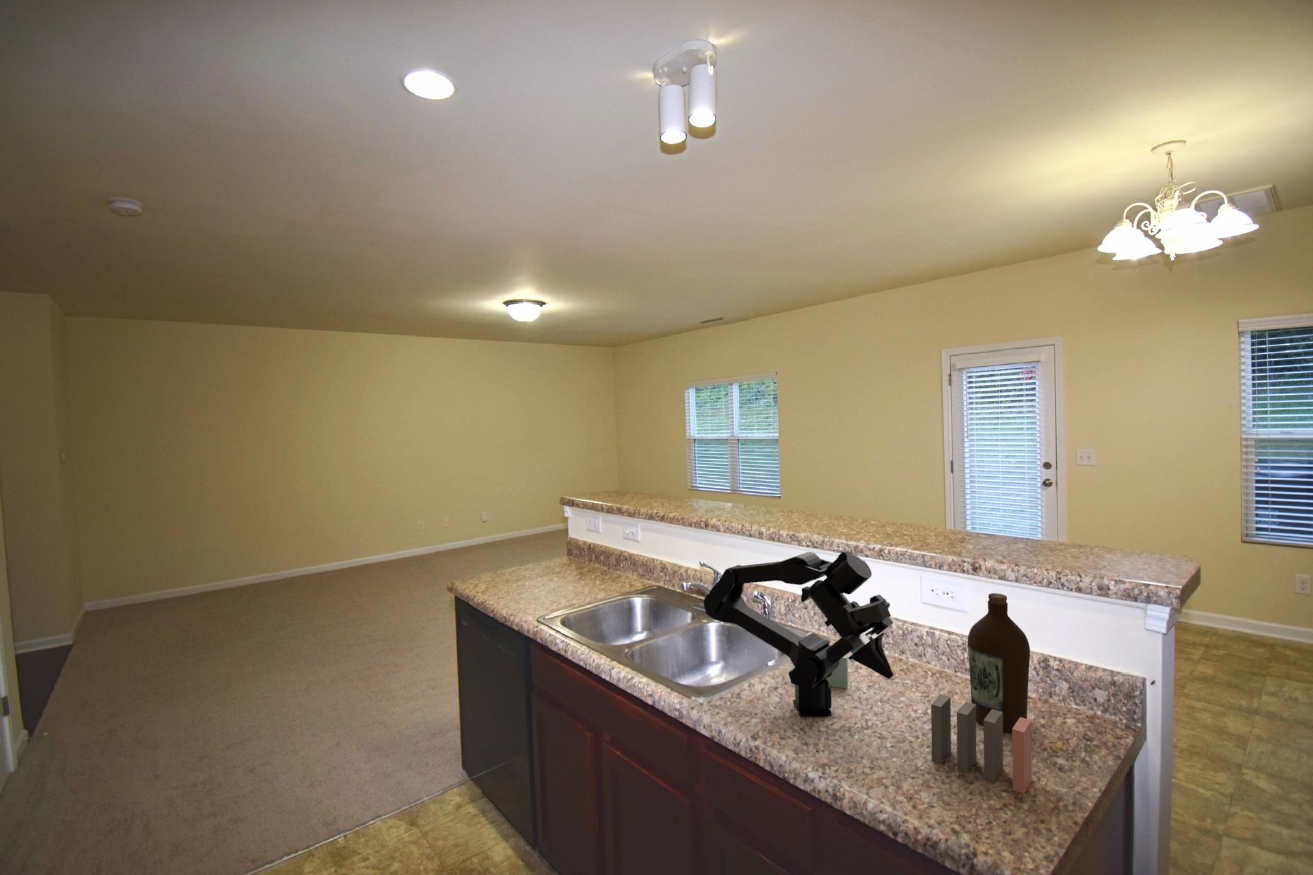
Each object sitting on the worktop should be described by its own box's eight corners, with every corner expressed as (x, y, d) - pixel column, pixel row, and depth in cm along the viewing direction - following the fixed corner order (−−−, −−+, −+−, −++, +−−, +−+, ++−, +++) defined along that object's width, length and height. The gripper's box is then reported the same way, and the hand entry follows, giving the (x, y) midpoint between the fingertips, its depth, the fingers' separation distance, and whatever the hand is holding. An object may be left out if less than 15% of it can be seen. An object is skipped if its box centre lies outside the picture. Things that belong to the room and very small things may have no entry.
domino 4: (1012, 789, 95) (1012, 728, 94) (1020, 775, 98) (1020, 716, 98) (1024, 793, 94) (1023, 732, 93) (1031, 779, 97) (1031, 720, 97)
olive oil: (991, 703, 123) (990, 584, 122) (1043, 726, 113) (1042, 598, 113) (956, 715, 118) (955, 592, 118) (1006, 740, 109) (1005, 607, 108)
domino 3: (984, 779, 98) (983, 719, 97) (992, 765, 101) (992, 708, 101) (994, 783, 96) (994, 723, 96) (1003, 769, 100) (1002, 711, 100)
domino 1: (931, 759, 103) (931, 704, 103) (941, 748, 107) (941, 694, 107) (941, 763, 102) (940, 707, 102) (950, 751, 106) (950, 696, 106)
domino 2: (957, 769, 100) (956, 711, 100) (966, 756, 104) (966, 701, 104) (967, 773, 99) (967, 714, 99) (976, 760, 103) (976, 704, 103)
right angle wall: (847, 691, 131) (846, 658, 131) (794, 680, 137) (794, 648, 137) (859, 671, 141) (858, 640, 141) (810, 661, 148) (809, 632, 147)
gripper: (839, 595, 107) (901, 672, 100) (882, 574, 120) (940, 640, 113) (802, 628, 113) (858, 703, 105) (847, 604, 126) (899, 669, 119)
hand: (891, 677), depth 110 cm, fingers closed
